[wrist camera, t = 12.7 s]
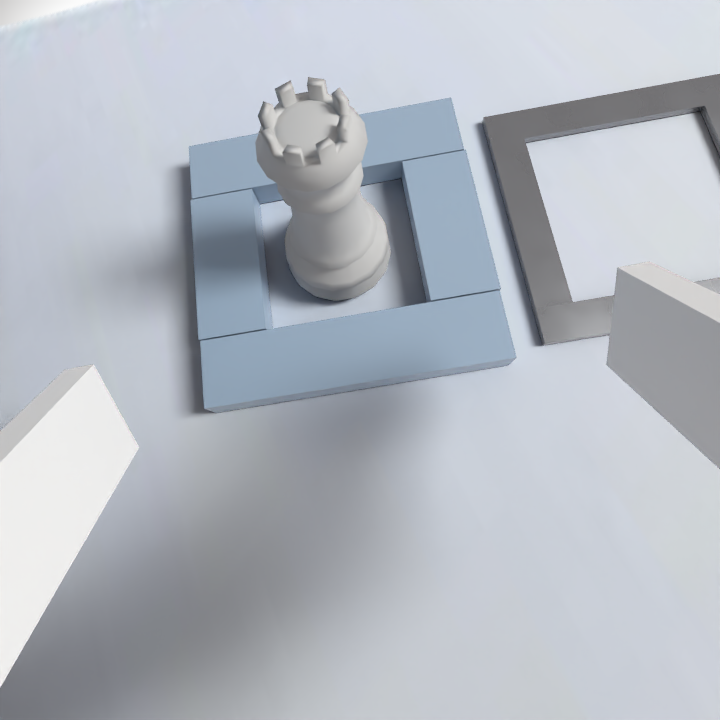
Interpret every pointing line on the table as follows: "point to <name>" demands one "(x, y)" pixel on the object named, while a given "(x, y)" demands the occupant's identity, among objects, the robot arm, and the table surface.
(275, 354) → the socket
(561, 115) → the bezel
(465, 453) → the table surface
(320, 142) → the rook chess piece
